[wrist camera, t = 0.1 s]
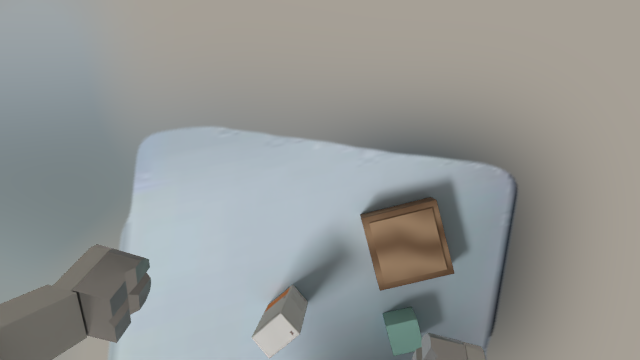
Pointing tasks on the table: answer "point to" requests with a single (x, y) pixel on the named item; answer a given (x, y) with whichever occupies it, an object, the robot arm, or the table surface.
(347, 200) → the table surface
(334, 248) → the table surface
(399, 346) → the teal cube
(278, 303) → the skincare box
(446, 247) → the tray
